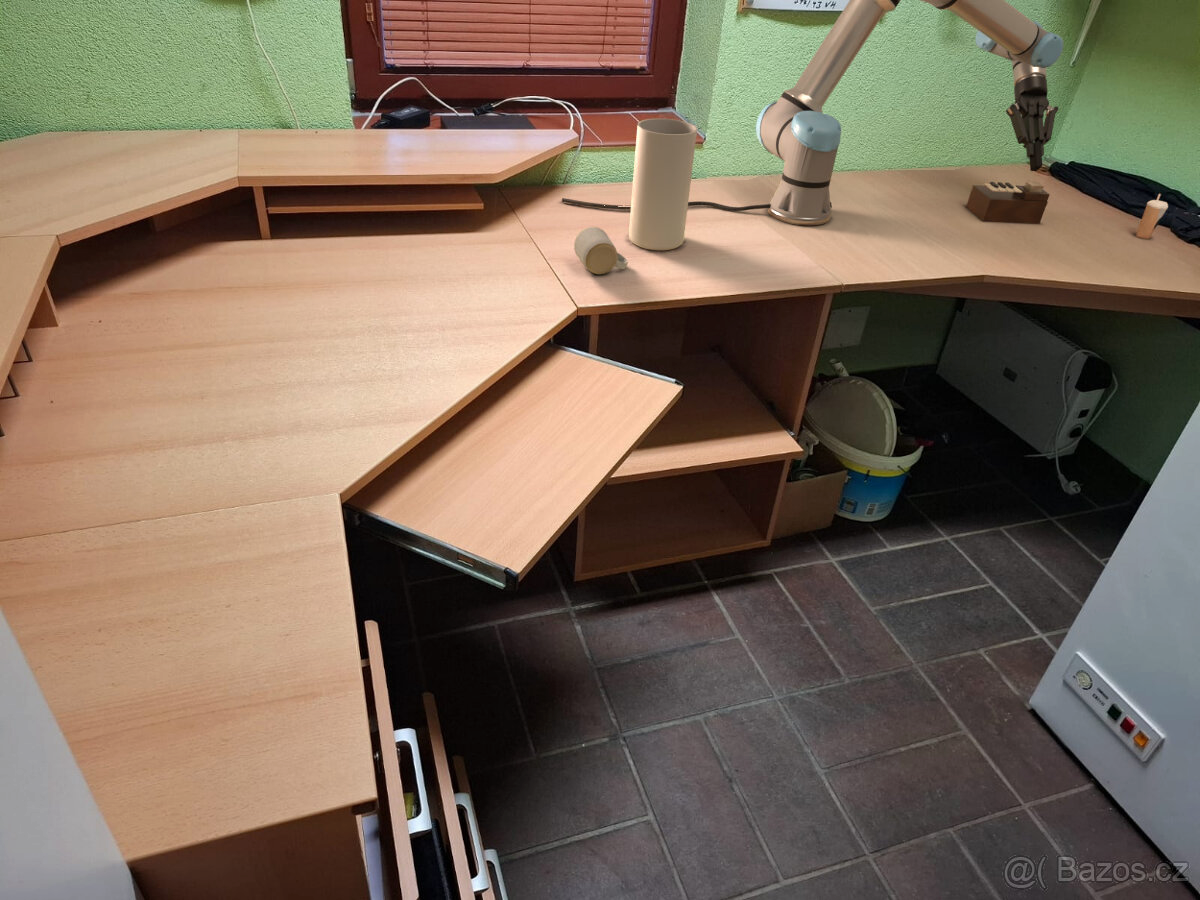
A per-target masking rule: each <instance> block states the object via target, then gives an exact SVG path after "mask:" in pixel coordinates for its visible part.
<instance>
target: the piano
mask: <svg viewBox="0 0 1200 900" xmlns="http://www.w3.org/2000/svg"><path fill="white" fill-rule="evenodd" d="M1015 186H1016V187H1017V188H1018V189H1020V190H1021V191H1022V193H1018V192H1000V191H999V192H997V191H992V190H990V189H989V188H988V187H986V186H985V185H982V184H980V185H978V184H973V185H972V187H971V190H970V194H969V196H968V199H967V202H966V205H965V207H966V208H967V209H969V210H970V211H971V212H972V213H973V214H975V216H977V218H978V219H980V220H981V221H982V222H993V223H1013V224H1014V223H1015V224H1037V225H1040V223H1041V221H1042V218H1043V215H1044V213H1045V211H1046V208H1047V205H1048V203H1049V199H1050V195H1051V194H1050V193H1049V192H1047V191H1046V190H1044V189H1043V190H1042V193H1040V192H1028V191H1027V190H1026V189H1024V186H1025V185H1017V184H1016V185H1015Z"/></svg>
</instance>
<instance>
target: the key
mask: <svg viewBox="0 0 1200 900" xmlns="http://www.w3.org/2000/svg"><path fill="white" fill-rule="evenodd" d="M1023 186H1024V189H1026V190H1027V191H1028V192H1040V193H1042V190H1044V188H1045V187H1044V185H1043V184H1042V183H1040V182H1039V181H1025V183H1024V185H1023Z"/></svg>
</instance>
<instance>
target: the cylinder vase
mask: <svg viewBox="0 0 1200 900" xmlns="http://www.w3.org/2000/svg"><path fill="white" fill-rule="evenodd" d="M636 128H637V129H636V141H635V153H634V165H633V167H634V168H633V175H632V177H633V178H632V189H631V190H632V191H631V205H630V206H631V210H630V215H629V226H628V229H629V230H628V239H629V241H630V242H631V243H632V244H633V245H635V246H637V247H639V248H643V249H645V250H652V251H670V250H674V249H677V248H679V247H680V246H681V245H683V243H684V240H685V231H686V225H687V217H688V208H689V206H688V202H690V201H689V199H690V192H691V184H692V177H693V175H692V174H693V166H694V160H695V159H694V158H695V150H696V144H697V143H696V142H697V135H698V127H697V126H696V125H695V124H693V123H690V122H687V121H683V120H679V119H672V118H647V119H643V120H640V121H639V122H637V126H636Z"/></svg>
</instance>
